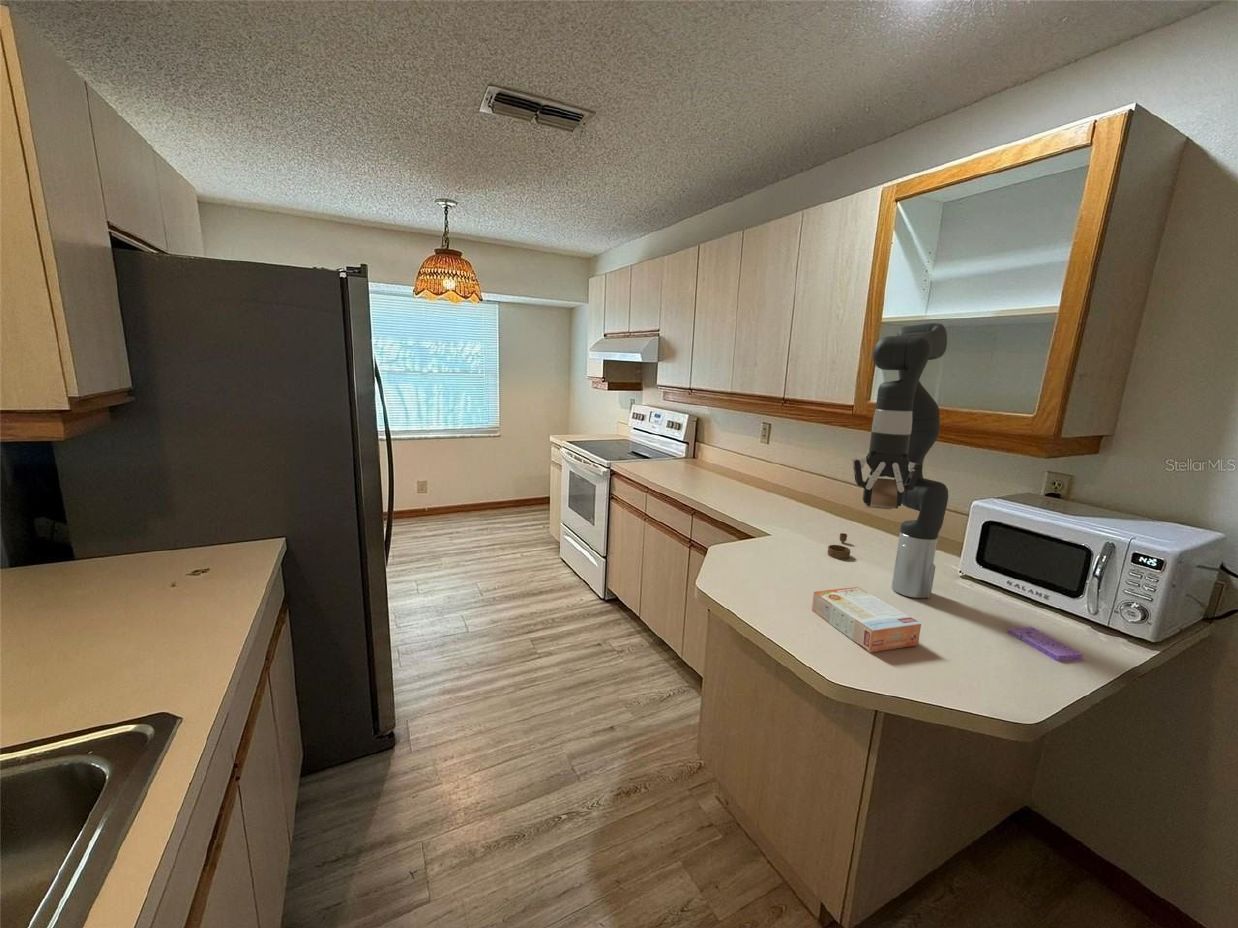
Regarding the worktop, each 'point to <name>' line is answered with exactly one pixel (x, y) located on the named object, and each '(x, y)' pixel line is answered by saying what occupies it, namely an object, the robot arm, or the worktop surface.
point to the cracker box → (866, 619)
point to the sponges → (1045, 644)
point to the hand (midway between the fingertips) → (881, 506)
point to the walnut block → (884, 494)
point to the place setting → (839, 549)
